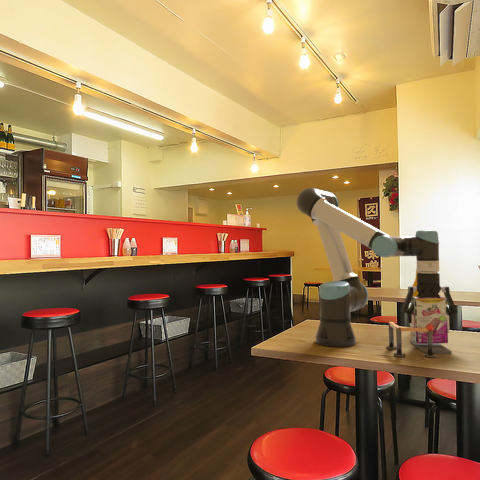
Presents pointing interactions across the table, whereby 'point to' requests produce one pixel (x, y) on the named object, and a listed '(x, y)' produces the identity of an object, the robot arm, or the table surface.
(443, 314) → the candy bar box
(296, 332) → the table surface
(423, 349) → the mat
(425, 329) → the bent wire
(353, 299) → the robot arm
